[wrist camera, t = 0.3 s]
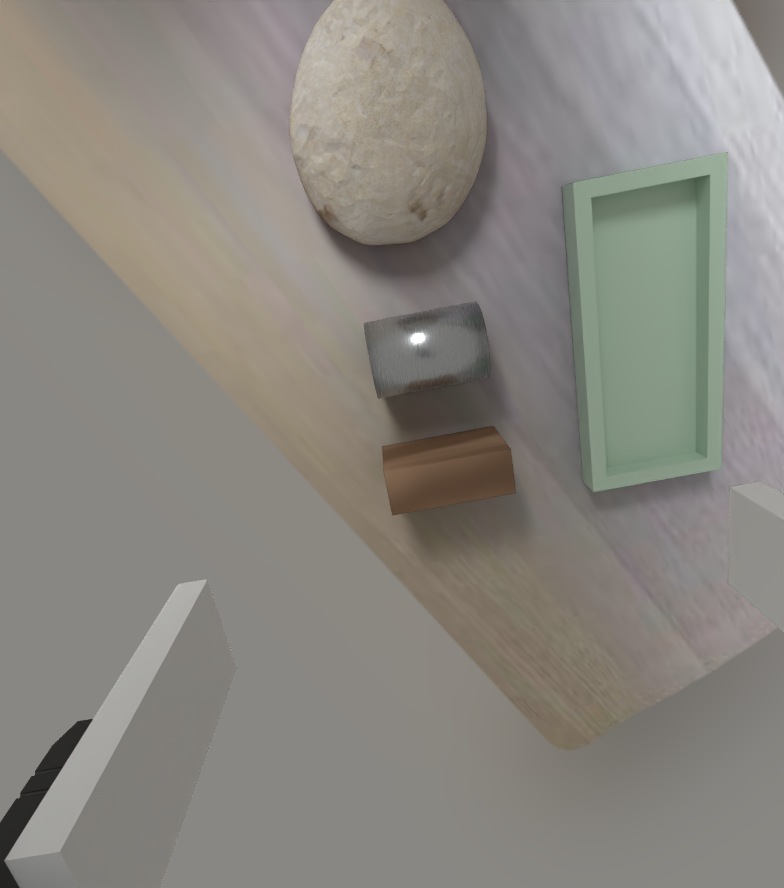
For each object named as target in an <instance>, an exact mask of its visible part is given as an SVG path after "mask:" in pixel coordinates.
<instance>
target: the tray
mask: <svg viewBox="0 0 784 888" xmlns="http://www.w3.org/2000/svg"><path fill="white" fill-rule="evenodd" d="M727 166H728V152H725V153H720V154H715V155H710V156H705V157H700V158H695V159H690V160H685V161H680V162H675V163H669V164H664V165H659V166H654V167H649V168H644V169H639V170H634V171H629V172H624V173H619V174H614V175H608V176H603V177H598V178H593V179H588V180H583V181H578V182H573V183H570V184H568V185H565V186H563V187H562V201H563V215H564V229H565V242H566V256H567V270H568V284H569V298H570V311H571V325H572V339H573V353H574V366H575V380H576V394H577V408H578V422H579V435H580V449H581V463H582V477H583V482H584V483H585V484H586V485H587V486H588V487H589V488H590V489H591V490H592V491H593V492H598V491H603V490H609V489H614V488H620V487H625V486H631V485H636V484H642V483H647V482H653V481H658V480H664V479H669V478H675V477H680V476H686V475H692V474H697V473H703V472H708V471H714V470H719V469H722V423H723V371H724V320H725V268H726V217H727Z"/></svg>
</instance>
